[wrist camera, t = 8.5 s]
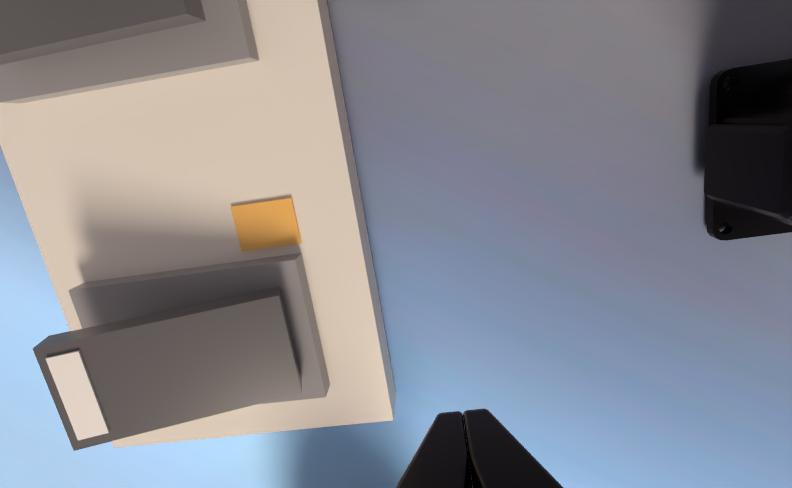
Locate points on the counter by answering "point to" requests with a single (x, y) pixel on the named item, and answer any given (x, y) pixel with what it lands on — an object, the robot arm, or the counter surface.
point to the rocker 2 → (170, 367)
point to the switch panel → (208, 195)
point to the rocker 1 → (84, 23)
